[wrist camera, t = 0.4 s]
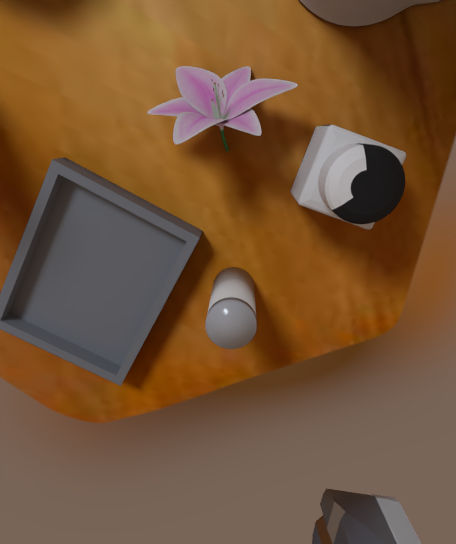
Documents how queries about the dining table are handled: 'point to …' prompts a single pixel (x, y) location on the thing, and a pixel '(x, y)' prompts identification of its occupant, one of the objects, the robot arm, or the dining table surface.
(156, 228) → the tray
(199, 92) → the lily
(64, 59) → the dining table surface
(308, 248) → the dining table surface
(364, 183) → the medicine bottle
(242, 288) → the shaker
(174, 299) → the dining table surface
